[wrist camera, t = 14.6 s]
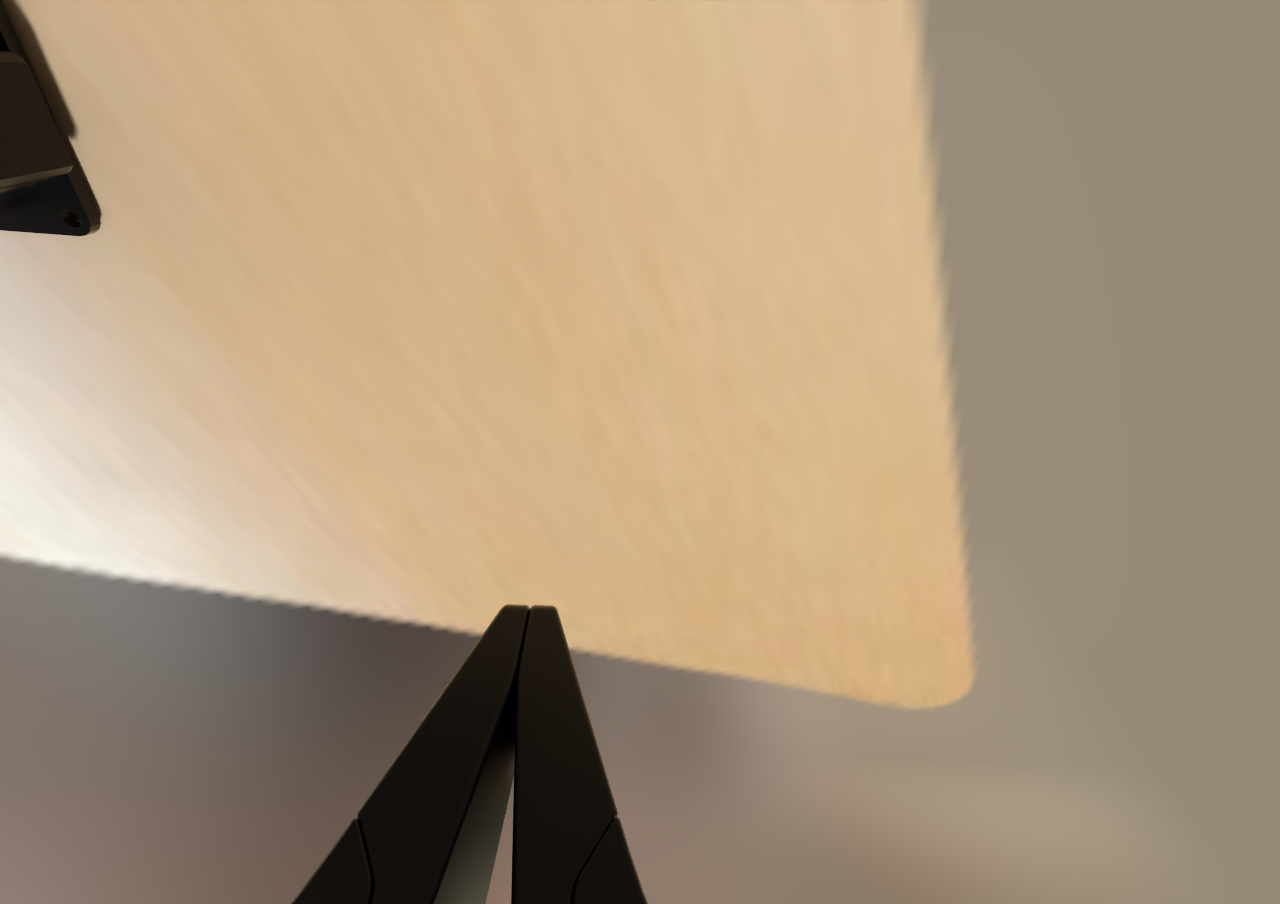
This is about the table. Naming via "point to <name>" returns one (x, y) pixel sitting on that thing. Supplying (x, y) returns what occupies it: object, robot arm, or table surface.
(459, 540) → the table surface
